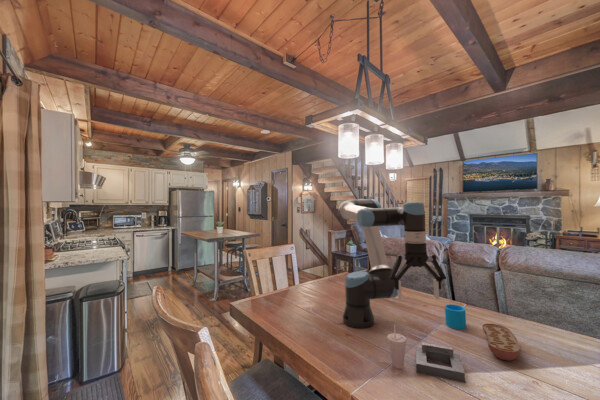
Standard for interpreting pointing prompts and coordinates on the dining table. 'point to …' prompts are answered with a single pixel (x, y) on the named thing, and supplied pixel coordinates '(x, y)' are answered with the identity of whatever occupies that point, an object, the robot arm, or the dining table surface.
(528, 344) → the dining table surface
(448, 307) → the mug
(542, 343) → the dining table surface
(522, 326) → the dining table surface
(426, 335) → the dining table surface
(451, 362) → the jig
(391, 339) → the smoothie
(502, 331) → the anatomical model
